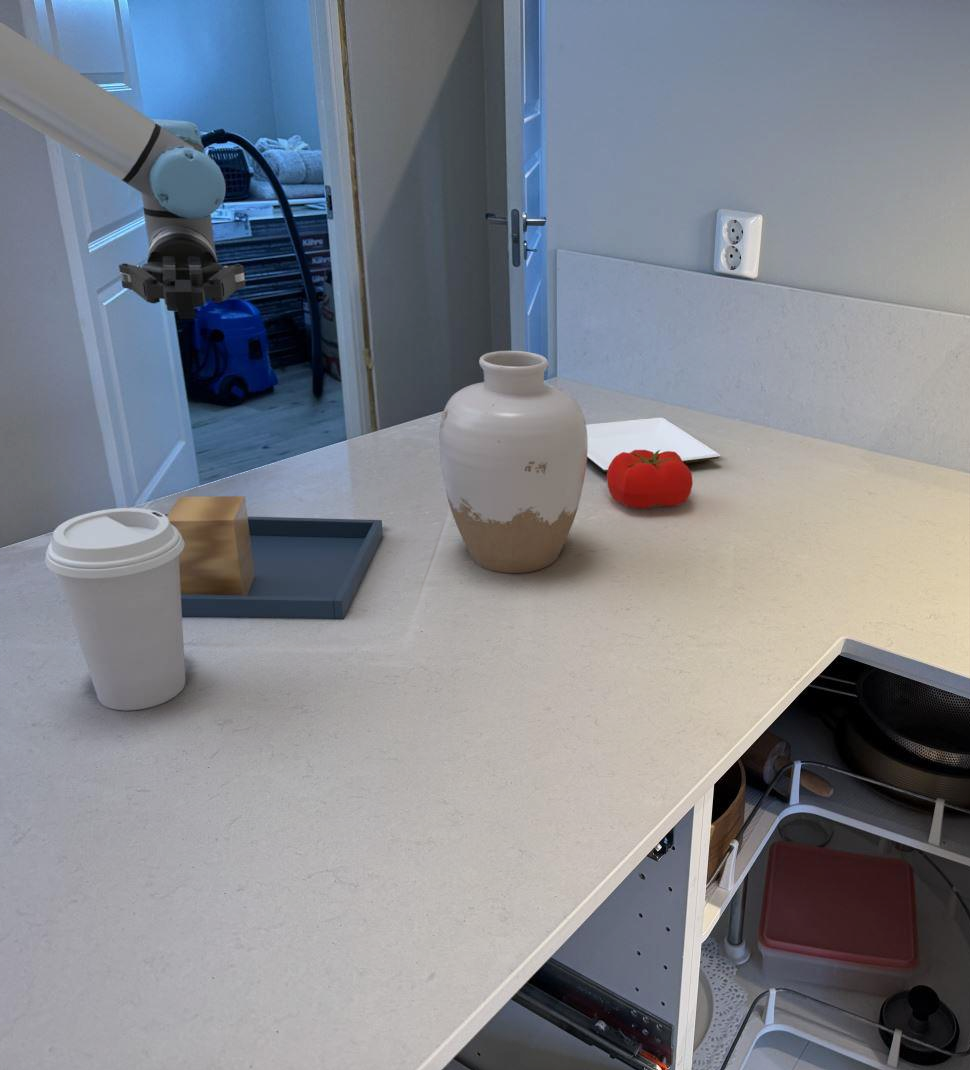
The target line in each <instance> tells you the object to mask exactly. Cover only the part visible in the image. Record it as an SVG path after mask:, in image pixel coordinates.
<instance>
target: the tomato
mask: <svg viewBox="0 0 970 1070" xmlns="http://www.w3.org/2000/svg"><path fill="white" fill-rule="evenodd" d="M659 451H660V450H658V451H657V452H656V453H655V454H654V453H653V452H651V451H648V450H634V451H632V452H630V453H626V452H622V453H620V454H619V455H617V456H616V457H615V458H614V459H613V460H612V462H611V464H610V465H609V467H608V472H606V482H607V483H606V484H607V489H608V491H609V494H610V496H611V498H612V499H613V500H615V502H618V503H621V504H623V505H624V506H625V507H627V508H629V509H638V510H644V509H649V508H652V507H654V506H659V507H662V508H673V507H676V506H678V505H682V504H684V503H685V502H686V501H688V499H689V497H690V495H691V493H692V488H693V485H694V483H693V482H694V481H693V474H692V471H691V470H690V469H689V466H688V465H687V464H684V463H683V462H682V460H681V458H680V456H679V455H678V454H677V453H676V452H672V451H666V452H662V453H660V454H658V453H659Z"/></svg>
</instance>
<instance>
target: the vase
mask: <svg viewBox="0 0 970 1070" xmlns="http://www.w3.org/2000/svg"><path fill="white" fill-rule="evenodd" d="M478 365H479V367H480V368H481V369H482V371H483V381H482V382H477V383H472V384H470V385H467V386H465V387H463V388H461V389H459V390H458V391H456V392H455V393H453V394H452V395H451V397H450V398H449V400H448V401H447V402H446V404H445V407H444V409H443V411H442V415H441V419H440V425H439V433H438V451H439V452H438V453H439V462H440V467H441V474H442V480H443V483H444V488H445V493H446V497H447V501H448V503H449V507H450V512H451V514H452V517H453V519H454V523H455V525H456V527H457V529H458V532H459V534H460V536H461V538H462V541H463V543H464V545H465V548H466V549H467V552H468V554H469V555H470V557H471V559H472V560H473V561H474V562H475V564H477V565H478V566H480V567H481V568H483V569H486V570H489V571H493V572H498V573H504V574H523V573H531V572H536V571H539V570H542V569H545V568H547V567H549V566H551V565H553V563H555V561H556V560H557V558H558V557H559V555H560V554H561V551H562V550H563V548H564V545H565V544H566V541H567V539H568V536H569V533H570V531H571V529H572V526H573V524H574V521H575V519H576V515H577V512H578V509H579V505H580V501H581V497H582V492H583V487H584V483H585V482H584V481H585V475H586V470H587V464H588V458H587V451H588V436H587V428H586V425H587V423H586V419H585V415H584V413H583V411H582V408H581V406H580V404H579V402H578V401H577V399H576V398H575V397H574V396H573V395H571V394H570V393H568V392H567V391H565V390H564V389H563V388H560V387H558V386H555V385H552V384H548V383H545V371H546V370H547V369H548V366H549V360H548V359H547V357H545V356H544V355H541V354H539V353H534V352H529V351H524V350H523V351H521V350H499V351H498V350H497V351H491V352H487V353H485V354H483V355H481V356H480V357H479V359H478Z"/></svg>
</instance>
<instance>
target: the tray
mask: <svg viewBox="0 0 970 1070" xmlns="http://www.w3.org/2000/svg"><path fill="white" fill-rule="evenodd" d="M163 514H164V515H165V516H166V517H167V515H168V514H169V513H163ZM247 517H248V525H249V533H250V541H251V549H252V557H253V565H254V573H255V577H254V579H253V582H252V584H251V587H250V589H249V592H248V594H247V596H243V595H185V594H181V608H182V618H215V619H216V618H218V619H219V618H220V619H222V618H223V619H225V618H226V619H285V620H286V619H287V620H288V619H289V620H290V619H291V620H293V619H294V620H298V619H299V620H344V619H345V618H346V615H347V613H348V611H349V610H350V609H349V608H350V607H351V604H352V602H353V600H354V598H355V596H356V594H357V592H358V590H359V587H360V585H361V584H362V582H363V579H364V577H365V575H366V573H367V572H368V568H369V567H370V564H371V562H372V560H373V558H374V556H375V554H376V552H377V549H378V548H379V546H380V543H381V541H382V539H383V536H384V535H383V534H384V533H383V520H382V519H360V518H359V519H358V518H357V519H356V518H355V519H354V518H321V517H320V518H318V517H287V516H286V517H284V516H282V517H280V516H249V515H247Z"/></svg>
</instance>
